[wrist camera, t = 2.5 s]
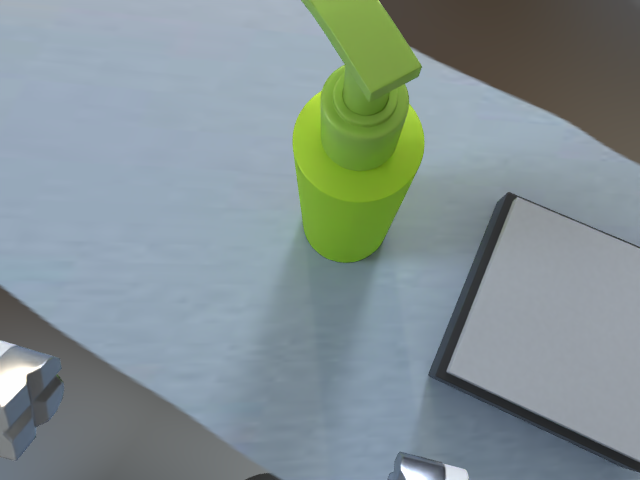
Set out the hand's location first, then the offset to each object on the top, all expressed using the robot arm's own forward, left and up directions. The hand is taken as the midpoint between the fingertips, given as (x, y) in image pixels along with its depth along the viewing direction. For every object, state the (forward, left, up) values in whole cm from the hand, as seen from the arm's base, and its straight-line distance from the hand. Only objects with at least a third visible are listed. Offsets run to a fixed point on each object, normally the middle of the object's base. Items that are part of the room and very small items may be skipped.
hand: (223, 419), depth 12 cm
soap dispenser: (+12, +1, -22) cm, 25 cm away
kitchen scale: (+11, -15, -21) cm, 28 cm away
